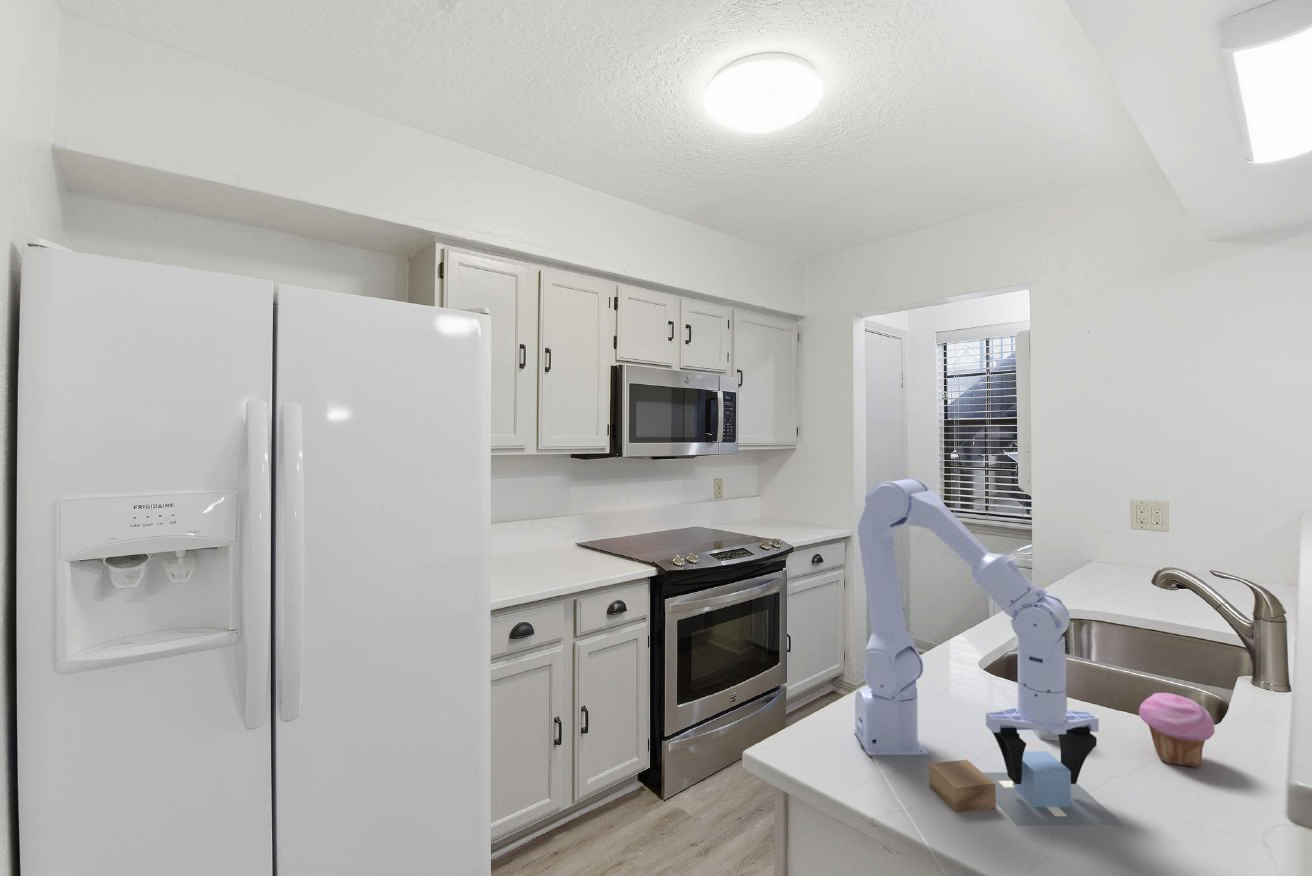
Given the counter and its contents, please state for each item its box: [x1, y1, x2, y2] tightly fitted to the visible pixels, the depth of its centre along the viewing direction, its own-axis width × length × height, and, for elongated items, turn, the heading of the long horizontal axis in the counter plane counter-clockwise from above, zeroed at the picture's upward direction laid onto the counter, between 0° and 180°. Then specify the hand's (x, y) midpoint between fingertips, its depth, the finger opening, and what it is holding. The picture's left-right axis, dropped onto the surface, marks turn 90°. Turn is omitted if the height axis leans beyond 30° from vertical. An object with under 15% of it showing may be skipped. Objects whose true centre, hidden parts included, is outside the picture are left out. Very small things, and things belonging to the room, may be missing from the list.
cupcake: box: [1138, 692, 1215, 768], centre depth 94 cm, size 9×9×10 cm
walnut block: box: [928, 759, 997, 813], centre depth 85 cm, size 6×6×4 cm
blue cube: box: [1013, 750, 1071, 807], centre depth 85 cm, size 5×5×5 cm
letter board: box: [981, 771, 1125, 827], centre depth 84 cm, size 14×12×1 cm
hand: (1041, 780), depth 84 cm, fingers open, 7 cm apart
